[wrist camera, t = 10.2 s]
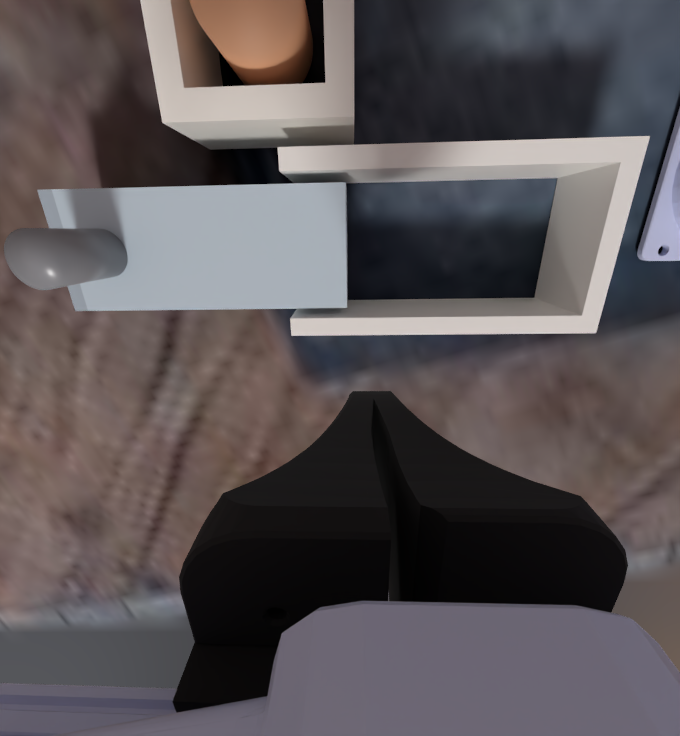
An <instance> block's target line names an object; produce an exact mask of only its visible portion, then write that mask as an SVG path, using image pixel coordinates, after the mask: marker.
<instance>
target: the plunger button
mask: <svg viewBox="0 0 680 736" xmlns="http://www.w3.org/2000/svg"><path fill="white" fill-rule="evenodd" d="M190 4H191V7H192V9H193V12H194V14H195V16H196V18H197V20H198V22H199V24H200V25H201V27H202V28H203V30H204V31H205V33H206V34H207V35H208V37H209V38H210V39H211V41H212V42H213V43H214V45H215V46H216V47H217V49H218V50H219V51H220V53H221V54H222V55H223V57H224V58H225V59H226V61H227V62H228V64H229V65H230V66H231V68H232V69H233V70H234V72H235V73H236V74H237V76H238V77H239V78H240V80H241V81H242V82H243V83H244V85H245V86H250V85H278V84H302V83H303V81H304V80H305V78H306V76H307V74H308V72H309V69H310V66H311V62H312V57H313V37H312V32H311V27H310V22H309V17H308V13H307V8H306V3H305V0H190Z"/></svg>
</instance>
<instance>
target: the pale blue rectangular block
mask: <svg viewBox="0 0 680 736" xmlns="http://www.w3.org/2000/svg"><path fill="white" fill-rule="evenodd" d="M38 194H39V197H40V200H41V203H42V206H43V209H44V213H45V216H46V219H47V222H48V225H49V228H22V229H17V230H15V231H13V232H11V233H10V234H9V235H8V237H7V239H6V241H5V245H4V253H5V258H6V261H7V263H8V265H9V267H10V269H11V270H12V272H13V273H14V274H15V276H16V277H17V278H18V279H20V280H21V281H22V282H23V283H25V284H26V285H28V286H30V287H32V288H35V289H39V290H50V289H55V288H60V287H65V286H68V289H69V292H70V295H71V299H72V302H73V305H74V308H75V311H120V310H208V309H297V308H347V301H348V245H347V188H346V182H331V183H291V184H252V185H213V186H173V187H134V188H94V189H55V190H38Z"/></svg>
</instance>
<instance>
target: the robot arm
mask: <svg viewBox="0 0 680 736" xmlns="http://www.w3.org/2000/svg"><path fill="white" fill-rule="evenodd" d="M661 246H662V247H663V250H662V252H661V253H660V254H658V250H659V248H660V247H661ZM637 255H638V258H639V259H641V260H645V261H679V260H680V108H679V111H678V115H677V118H676V122H675V125H674V128H673V132H672V135H671V139H670V142H669V145H668V149H667V152H666V156H665V159H664V162H663V166H662V169H661V173H660V176H659V179H658V183H657V186H656V190H655V193H654V196H653V200H652V203H651V207H650V210H649V213H648V217H647V220H646V224H645V227H644V230H643V234H642V237H641V241H640V244H639V247H638V252H637ZM627 567H628V563H627V558H626V552H625V549H624V548H623V546H622V545H621V543H620V542H619V540H618V539H617V537H616V536H615V535H614V534H613V532H612V531H611V530H610V529H609V528H608V527H607V526H606V524H605V523H604V522H603V521H602V520H601V519H600V517H599V516H598V515H597V514H596V513H595V512H594V510H593V509H592V508H591V507H590V506H589V505H588V504H587V502H586V501H585V500H584V499H583V498H582V497H581V496H578V495H575V494H572V493H569V492H565V491H562V490H559V489H556V488H553V487H550V486H546V485H543V484H540V483H537V482H534V481H531V480H528V479H526V478H523V477H520V476H518V475H515V474H513V473H510V472H508V471H505V470H503V469H501V468H498V467H496V466H494V465H492V464H489V463H487V462H485V461H483V460H481V459H479V458H477V457H475V456H473V455H471V454H469V453H468V452H466V451H464V450H462V449H460V448H459V447H457V446H456V445H454V444H452V443H451V442H449V441H448V440H446V439H444V438H443V437H442V436H440V435H439V434H437V433H436V432H435V431H433V430H432V429H431V428H429V427H428V426H427V425H426V424H424V423H423V422H422V421H421V420H420V419H418V418H417V417H416V416H415V415H414V414H413V413H412V412H411V411H409V410H408V409H407V408H406V407H405V406H404V405H403V404H402V403H401V402H400V401H399V399H398V398H397V397H396V396H395V395H394V394H393V393H392V392H391V391H353V392H352V393H351V394H350V395H349V398H348V400H347V402H346V404H345V405H344V407H343V409H342V410H341V412H340V413H339V414H338V416H337V417H336V419H335V420H334V421H333V422H332V424H331V425H330V426H329V427H328V428H327V430H326V431H325V432H324V433H323V434H322V435H321V436H320V437H319V438H318V439H317V440H316V441H315V442H314V443H313V444H312V445H311V446H310V447H308V448H307V449H306V450H305V451H303V452H302V453H300V454H299V455H298V456H296V457H295V458H293V459H292V460H291V461H289V462H288V463H286V464H284V465H283V466H281V467H279V468H278V469H276V470H274V471H272V472H270V473H268V474H267V475H265V476H263V477H261V478H259V479H256V480H254V481H252V482H249V483H247V484H245V485H242V486H240V487H238V488H235V489H233V490H231V491H228V492H225V493H223V494H222V496H221V497H220V499H219V501H218V502H217V504H216V505H215V506H214V508H213V509H212V511H211V512H210V514H209V516H208V517H207V519H206V520H205V522H204V524H203V526H202V527H201V529H200V531H199V533H198V535H197V537H196V539H195V541H194V543H193V545H192V547H191V549H190V551H189V553H188V555H187V557H186V559H185V561H184V563H183V567H182V570H181V573H180V576H179V580H180V590H181V595H182V599H183V602H184V605H185V609H186V612H187V616H188V619H189V623H190V626H191V630H192V633H193V637H194V640H195V643H194V646H193V649H192V651H191V654H190V656H189V659H188V662H187V664H186V667H185V670H184V672H183V675H182V677H181V680H180V683H179V686H178V688H177V689H176V688H144V687H112V686H111V687H110V686H79V685H49V684H16V683H0V736H680V672H679V671H678V669H677V668H676V667H675V665H674V664H673V663H672V661H671V660H670V659H669V657H668V656H667V655H666V653H665V652H664V650H663V649H662V648H661V646H660V645H659V644H658V643H657V642H656V641H655V640H654V639H653V638H652V637H651V636H650V635H649V634H648V633H647V632H646V631H645V630H644V629H642V628H641V627H640V626H639V625H638V624H637V623H636V622H635V621H634V620H633V619H631V618H628V617H625V616H622V615H619V614H614V613H611V612H612V609H613V607H614V605H615V602H616V600H617V597H618V595H619V593H620V591H621V588H622V586H623V583H624V580H625V576H626V571H627ZM388 590H389V601H388Z"/></svg>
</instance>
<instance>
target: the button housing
mask: <svg viewBox="0 0 680 736" xmlns="http://www.w3.org/2000/svg"><path fill="white" fill-rule="evenodd" d="M140 1H141V7H142V12H143V18H144V24H145V29H146V35H147V40H148V46H149V51H150V57H151V63H152V68H153V74H154V79H155V85H156V90H157V96H158V102H159V107H160V113H161V118H162V123H164V124H165V125H167V126H169V127H171V128H173V129H174V130H176V131H178V132H180V133H181V134H183V135H185V136H187V137H189V138H190V139H192V140H194V141H196V142H197V143H199V144H201V145H203V146H205V147H206V148H208V149H210V150H213V149H247V148H277V147H294V146H328V145H354V0H323V14H324V50H325V83H305V84H278V85H250V86H223V84H222V76H221V67H220V59H219V51H218V49H217V47H216V46H215V45H214V43H213V42H212V41H211V39H210V38H209V37H208V35H207V34H206V33H205V31H204V30H203V28H202V27H201V25H200V24H199V22H198V20H197V18H196V16H195V14H194V12H193V9H192V7H191V4H190V0H140Z"/></svg>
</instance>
